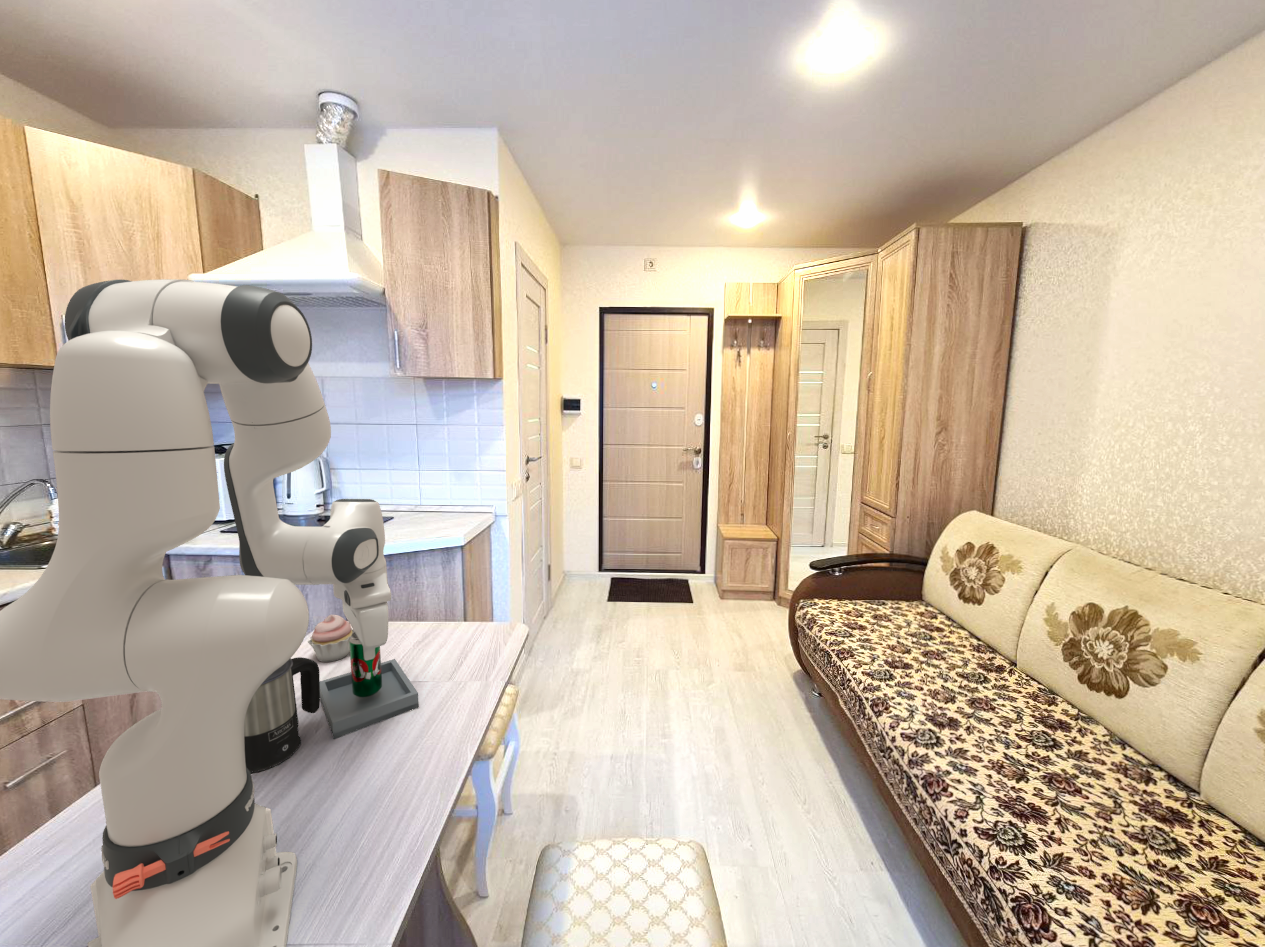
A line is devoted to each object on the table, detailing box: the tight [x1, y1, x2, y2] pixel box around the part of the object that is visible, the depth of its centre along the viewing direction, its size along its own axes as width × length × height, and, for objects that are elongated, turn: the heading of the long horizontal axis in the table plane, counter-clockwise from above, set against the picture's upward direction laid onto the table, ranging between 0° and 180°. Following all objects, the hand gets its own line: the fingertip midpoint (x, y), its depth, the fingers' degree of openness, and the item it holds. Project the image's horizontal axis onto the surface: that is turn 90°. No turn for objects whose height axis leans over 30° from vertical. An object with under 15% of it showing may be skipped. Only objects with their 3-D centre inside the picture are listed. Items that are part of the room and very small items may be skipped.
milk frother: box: [244, 656, 321, 774], centre depth 80 cm, size 14×16×15 cm
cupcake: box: [307, 614, 354, 663], centre depth 109 cm, size 9×9×10 cm
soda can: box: [349, 632, 382, 697], centre depth 92 cm, size 5×5×12 cm
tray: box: [320, 658, 420, 740], centre depth 93 cm, size 16×14×3 cm
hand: (365, 651), depth 91 cm, fingers closed on soda can, 5 cm apart
